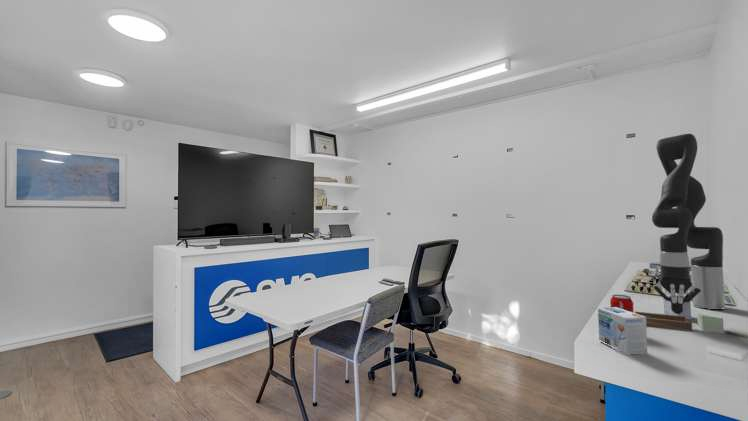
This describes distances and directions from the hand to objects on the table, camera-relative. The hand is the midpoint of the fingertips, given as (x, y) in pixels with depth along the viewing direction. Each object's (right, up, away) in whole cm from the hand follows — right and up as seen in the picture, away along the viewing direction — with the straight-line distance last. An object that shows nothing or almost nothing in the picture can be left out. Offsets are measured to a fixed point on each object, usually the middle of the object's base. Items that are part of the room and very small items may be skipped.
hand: (676, 313), depth 115 cm
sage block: (+7, -4, -5) cm, 9 cm away
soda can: (-22, -5, -4) cm, 23 cm away
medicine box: (+9, -5, +10) cm, 14 cm away
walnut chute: (-4, -5, +2) cm, 6 cm away
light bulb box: (-32, -5, -17) cm, 37 cm away
